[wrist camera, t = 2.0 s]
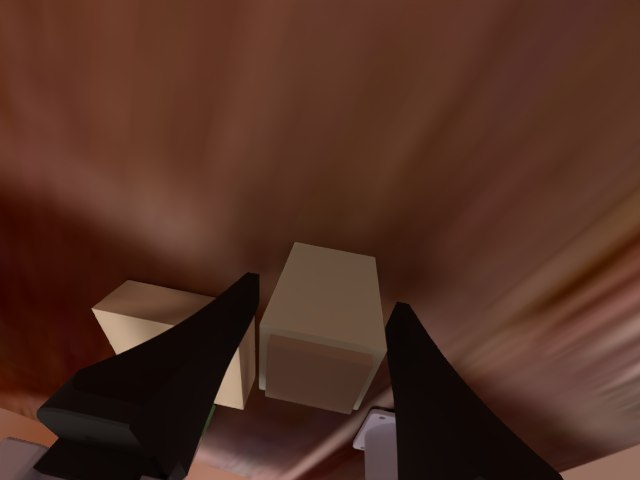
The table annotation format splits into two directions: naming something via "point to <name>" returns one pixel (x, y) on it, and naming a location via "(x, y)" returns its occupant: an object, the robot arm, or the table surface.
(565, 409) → the table surface
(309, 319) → the sage box
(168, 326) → the maple block
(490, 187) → the table surface
